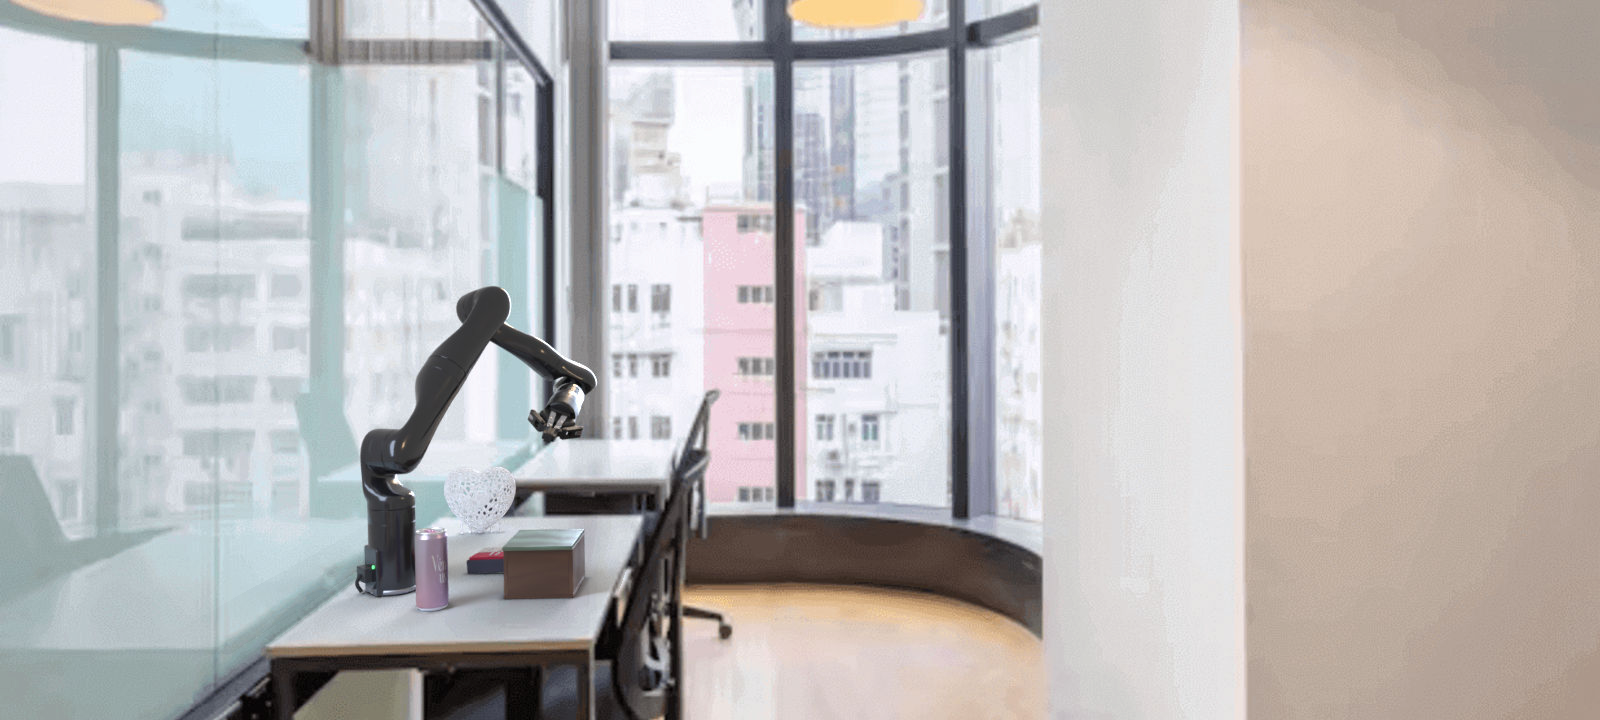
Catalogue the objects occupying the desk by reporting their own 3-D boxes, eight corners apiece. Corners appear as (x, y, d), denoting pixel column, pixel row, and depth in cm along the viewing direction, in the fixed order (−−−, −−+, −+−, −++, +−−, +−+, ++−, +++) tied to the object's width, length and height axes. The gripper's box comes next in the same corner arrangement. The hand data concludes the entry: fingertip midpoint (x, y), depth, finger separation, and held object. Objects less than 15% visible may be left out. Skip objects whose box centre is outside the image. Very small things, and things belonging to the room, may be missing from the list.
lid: (571, 549, 211) (571, 545, 211) (502, 551, 211) (502, 547, 211) (584, 532, 228) (584, 528, 228) (519, 533, 227) (519, 529, 227)
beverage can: (437, 601, 211) (436, 526, 210) (455, 606, 207) (453, 529, 206) (410, 608, 206) (408, 531, 205) (427, 613, 202) (425, 535, 202)
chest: (573, 597, 213) (572, 549, 212) (504, 599, 212) (503, 550, 212) (585, 578, 228) (584, 532, 228) (520, 579, 228) (519, 533, 227)
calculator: (483, 546, 243) (548, 543, 242) (484, 565, 243) (549, 562, 242) (465, 557, 232) (533, 554, 231) (466, 577, 232) (534, 574, 231)
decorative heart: (439, 538, 270) (438, 470, 269) (450, 529, 281) (449, 464, 280) (512, 536, 271) (510, 469, 270) (520, 527, 282) (519, 463, 281)
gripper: (539, 386, 247) (523, 413, 230) (594, 405, 249) (582, 433, 232) (530, 414, 249) (513, 443, 232) (585, 433, 251) (571, 463, 234)
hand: (547, 438), depth 232 cm, fingers closed
